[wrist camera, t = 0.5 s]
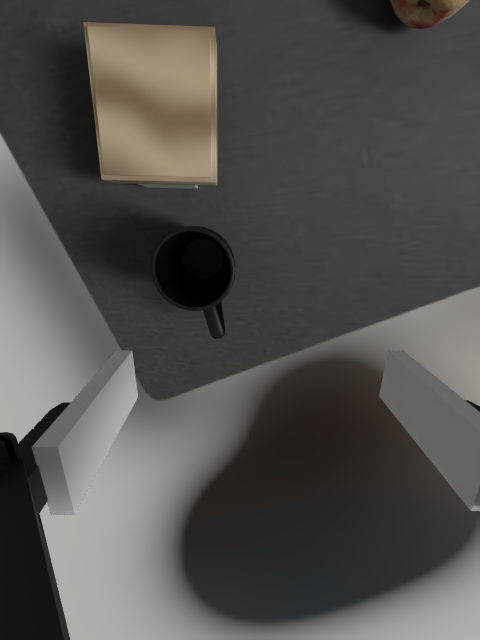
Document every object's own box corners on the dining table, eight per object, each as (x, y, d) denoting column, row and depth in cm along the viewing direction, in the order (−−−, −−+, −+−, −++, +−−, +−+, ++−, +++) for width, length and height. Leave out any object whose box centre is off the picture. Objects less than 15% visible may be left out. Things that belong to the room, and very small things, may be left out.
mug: (191, 323, 40) (179, 353, 31) (161, 235, 37) (137, 239, 28) (249, 308, 40) (254, 333, 31) (225, 216, 36) (221, 215, 27)
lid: (99, 42, 28) (81, 20, 24) (216, 46, 28) (214, 24, 25) (113, 183, 31) (100, 179, 28) (217, 185, 32) (215, 182, 28)
